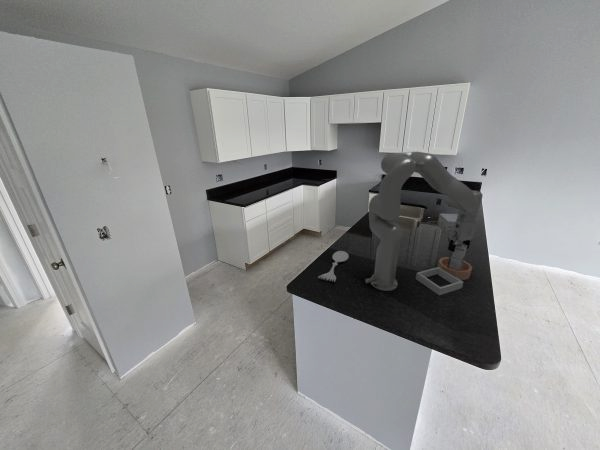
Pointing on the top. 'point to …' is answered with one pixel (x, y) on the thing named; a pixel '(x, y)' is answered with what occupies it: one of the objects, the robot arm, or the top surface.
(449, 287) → the parts tray
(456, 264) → the syrup box
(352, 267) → the top surface
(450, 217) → the supplement box
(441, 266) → the bowl
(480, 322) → the top surface
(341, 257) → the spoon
